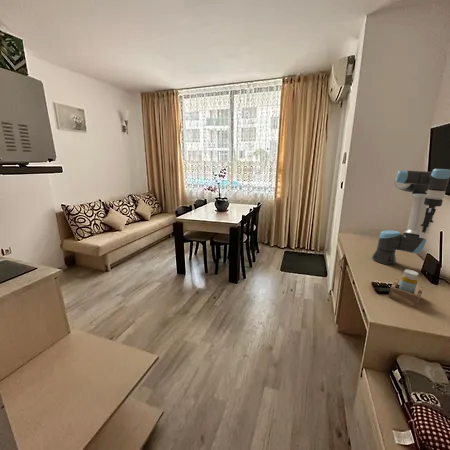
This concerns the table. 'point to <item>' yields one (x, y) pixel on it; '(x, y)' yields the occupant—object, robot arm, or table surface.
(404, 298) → the u rest
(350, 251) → the table surface
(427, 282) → the table surface
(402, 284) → the bottle
